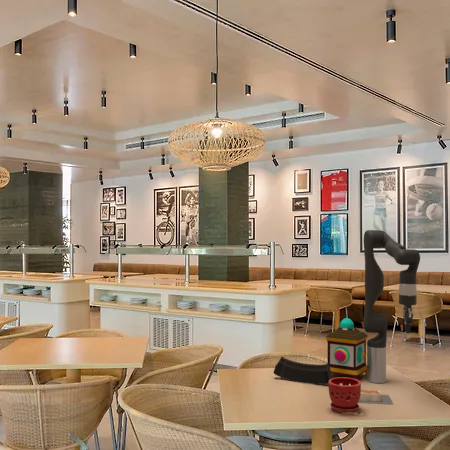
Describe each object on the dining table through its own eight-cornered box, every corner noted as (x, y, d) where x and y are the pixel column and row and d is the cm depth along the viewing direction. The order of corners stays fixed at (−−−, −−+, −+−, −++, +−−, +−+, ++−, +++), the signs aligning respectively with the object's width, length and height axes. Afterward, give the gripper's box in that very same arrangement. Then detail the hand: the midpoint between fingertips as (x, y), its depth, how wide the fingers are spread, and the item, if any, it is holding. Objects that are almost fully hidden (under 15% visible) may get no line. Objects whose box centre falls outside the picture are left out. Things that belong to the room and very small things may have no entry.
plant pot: (324, 405, 231) (324, 376, 232) (355, 405, 232) (355, 376, 233) (333, 415, 218) (333, 385, 219) (365, 414, 219) (365, 384, 219)
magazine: (339, 367, 263) (283, 343, 277) (337, 368, 260) (281, 344, 274) (328, 400, 265) (274, 374, 279) (326, 401, 262) (272, 375, 276)
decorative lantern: (358, 383, 267) (358, 322, 268) (320, 377, 278) (321, 318, 279) (372, 375, 284) (372, 317, 285) (336, 370, 295) (336, 314, 296)
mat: (338, 393, 249) (338, 392, 249) (388, 396, 246) (388, 394, 246) (340, 403, 234) (340, 402, 234) (393, 406, 231) (393, 404, 231)
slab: (379, 397, 241) (337, 395, 244) (379, 390, 241) (337, 388, 244) (381, 401, 235) (338, 399, 238) (381, 394, 235) (338, 392, 238)
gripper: (396, 292, 252) (396, 330, 251) (401, 295, 238) (401, 335, 238) (413, 292, 250) (413, 330, 250) (419, 295, 237) (419, 335, 237)
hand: (407, 332), depth 244 cm, fingers closed
